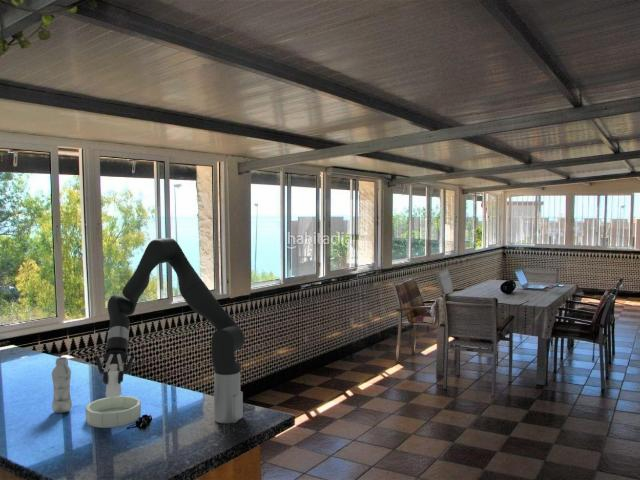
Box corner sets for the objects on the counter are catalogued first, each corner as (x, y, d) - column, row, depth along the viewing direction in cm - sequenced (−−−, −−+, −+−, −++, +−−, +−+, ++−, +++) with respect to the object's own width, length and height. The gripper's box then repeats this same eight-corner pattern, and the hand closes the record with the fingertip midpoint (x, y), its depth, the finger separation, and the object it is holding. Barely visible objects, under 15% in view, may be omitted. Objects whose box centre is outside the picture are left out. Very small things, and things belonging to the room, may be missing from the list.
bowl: (150, 412, 197) (150, 399, 197) (118, 430, 180) (118, 416, 180) (109, 407, 203) (109, 394, 203) (74, 424, 186) (74, 410, 185)
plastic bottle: (64, 416, 193) (63, 361, 192) (47, 414, 195) (47, 360, 194) (75, 409, 199) (75, 356, 199) (59, 408, 201) (59, 355, 200)
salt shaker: (125, 393, 193) (124, 363, 192) (113, 398, 188) (113, 367, 187) (113, 391, 195) (113, 361, 194) (102, 396, 190) (101, 365, 190)
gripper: (96, 336, 196) (89, 379, 185) (136, 335, 199) (132, 376, 188) (98, 347, 202) (92, 389, 190) (138, 345, 205) (134, 386, 193)
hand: (112, 382), depth 189 cm, fingers closed on salt shaker, 4 cm apart
